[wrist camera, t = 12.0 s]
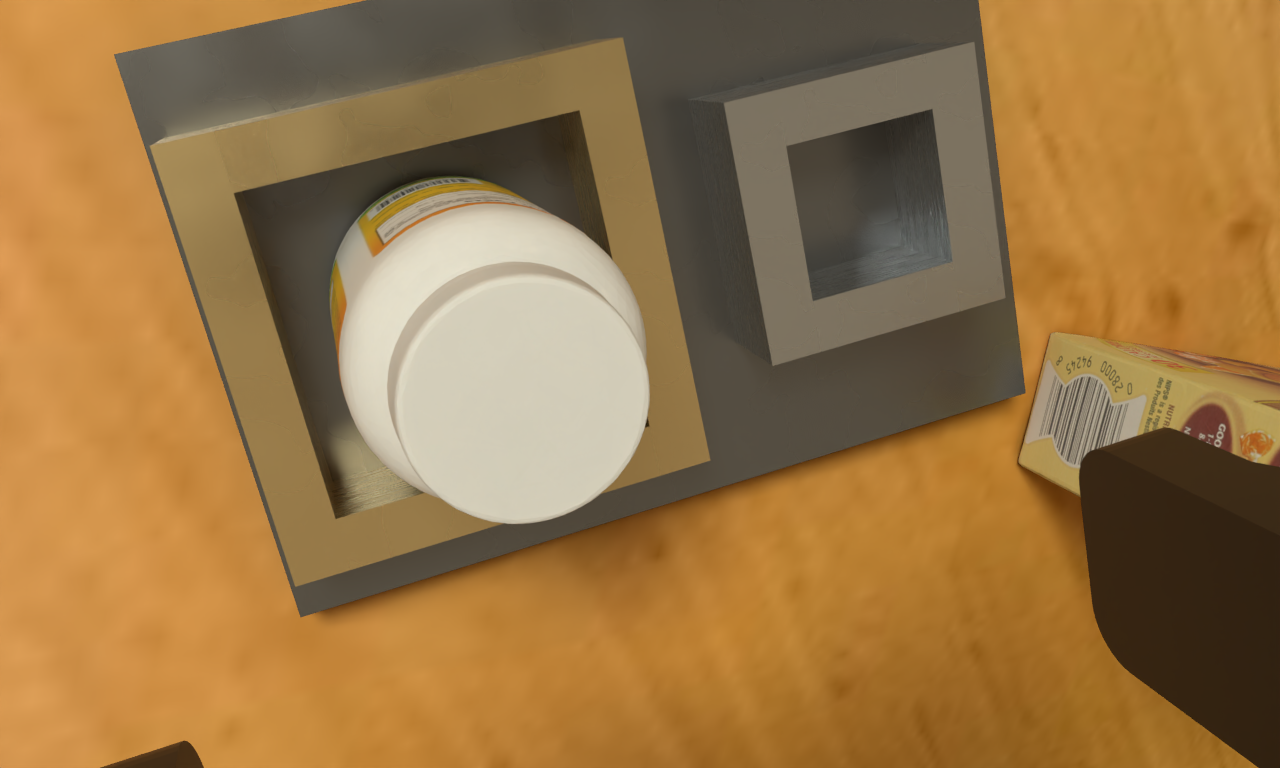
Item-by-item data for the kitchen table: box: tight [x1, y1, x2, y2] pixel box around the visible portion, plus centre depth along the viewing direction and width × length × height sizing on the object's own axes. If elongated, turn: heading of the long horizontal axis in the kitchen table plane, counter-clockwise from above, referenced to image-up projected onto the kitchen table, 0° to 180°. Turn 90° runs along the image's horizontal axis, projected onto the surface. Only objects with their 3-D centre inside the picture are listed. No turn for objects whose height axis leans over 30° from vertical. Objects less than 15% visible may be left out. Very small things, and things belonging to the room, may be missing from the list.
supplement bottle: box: [329, 176, 650, 524], centre depth 23 cm, size 5×5×10 cm
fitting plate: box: [114, 0, 1025, 617], centre depth 28 cm, size 19×13×4 cm
